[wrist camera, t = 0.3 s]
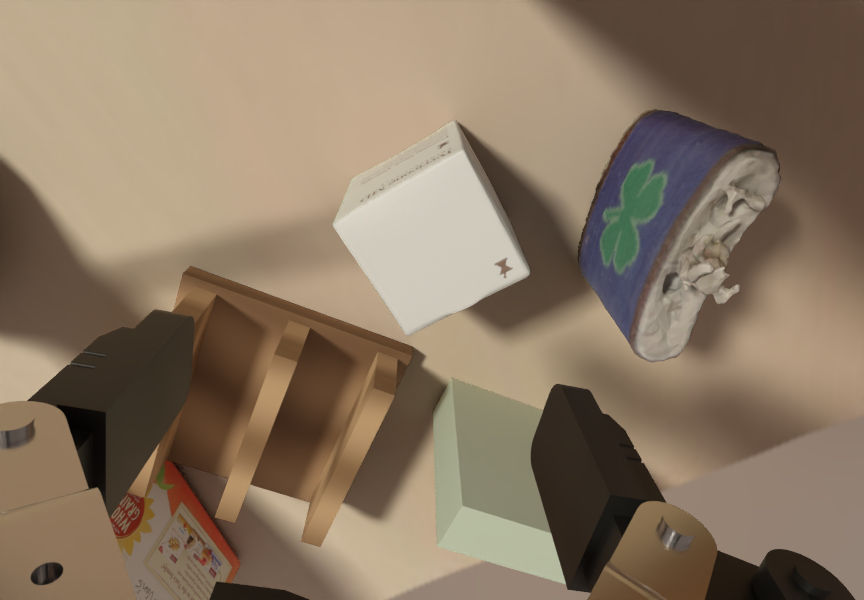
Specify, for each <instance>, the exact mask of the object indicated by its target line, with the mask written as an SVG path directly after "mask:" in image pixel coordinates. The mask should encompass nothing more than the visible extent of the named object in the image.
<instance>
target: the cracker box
mask: <svg viewBox="0 0 864 600" xmlns="http://www.w3.org/2000/svg"><path fill="white" fill-rule="evenodd" d="M110 522H111V525H112V527H113V530H114V533H115V536H116V539H117V542H118V545H119V548H120V551H121V554H122V557H123V560H124V563H125V566H126V569H127V572H128V575H129V577H130V580H131V583H132V586H133V589H134V592H135V595H136V598H137V600H209V599H210V597H211V594H212V591H213V589H214V586H215V583H216V581H217V582H225V583H232V581H233V579H234V577H235V575H236V573H237V571H238V569H239V567H240V561H239V560H238V558H237V557H236V555H235V554H234V553H233V551H232V550H231V548H230V547H229V545H228V544H227V542H226V541H225V539H224V538H223V536H222V535H221V533H220V532H219V530H218V529H217V527H216V526H215V524H214V523H213V521H212V520H211V518H210V517H209V515H208V514H207V513H206V511H205V509H204V508H203V506H202V505H201V503H200V502H199V500H198V499H197V497H196V496H195V495H194V493H193V491H192V490H191V489H190V487H189V486H188V484H187V483H186V481H185V480H184V478H183V476H182V475H181V474H180V472H179V471H178V469H177V468H176V466H175V465H174V463H173V462H171V461H168V460H166V461H165V463H164V465H163V466H162V468H161V470H160V471H159V473H158V475H157V477H156V478H155V480H154V482H153V483H152V485H151V487H150V489H149V490H148V492H147V494H146V495H145V497H144V498H143V497H139V496H136V495H132V494H129V493H126V495H125V496H124V498H123V499H122V501H121V502H120V504H119V505H118V507H117V508H116V510H115V511H114V513H113V514H112V516H111V517H110Z"/></svg>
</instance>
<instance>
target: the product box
mask: <svg viewBox="0 0 864 600" xmlns="http://www.w3.org/2000/svg"><path fill="white" fill-rule="evenodd" d="M333 227H334V229H335V230H336V231H337V233H338V234H339V236H340V237H341V239H342V240H343V242H344V243H345V245H346V246H347V248H348V249H349V251H350V252H351V254H352V255H353V257H354V258H355V260H356V261H357V263H358V264H359V266H360V267H361V268H362V270H363V271H364V273H365V274H366V276H367V277H368V279H369V280H370V282H371V283H372V285H373V286H374V288H375V289H376V291H377V292H378V294H379V295H380V297H381V298H382V300H383V301H384V303H385V304H386V306H387V307H388V309H389V310H390V312H391V313H392V315H393V316H394V318H395V319H396V321H397V322H398V324H399V325H400V327H401V328H402V330H403V332H404V333H405V335H407V336H409V335H412V334H413V333H415V332H417V331H419V330H421V329H423V328H425V327H427V326H429V325H431V324H433V323H435V322H437V321H439V320H441V319H443V318H445V317H447V316H449V315H451V314H453V313H456V312H459V311H462V310H464V309H466V308H469V307H470V306H472V305H474V304H475V303H477V302H478V301H480V300H482V299H484V298H486V297H488V296H490V295H492V294H494V293H496V292H498V291H500V290H502V289H504V288H506V287H508V286H510V285H512V284H514V283H516V282H518V281H520V280H523V279H525V278H526V277H528V276H529V275H530V269H529V266H528V263H527V261H526V259H525V256H524V254H523V252H522V250H521V247H520V245H519V243H518V240H517V238H516V235H515V233H514V230H513V228H512V225H511V223H510V221H509V218H508V216H507V215H506V213H505V211H504V209H503V207H502V205H501V203H500V201H499V199H498V197H497V195H496V193H495V191H494V189H493V187H492V185H491V183H490V181H489V179H488V177H487V175H486V173H485V171H484V169H483V168H482V166H481V164H480V162H479V160H478V159H477V157H476V155H475V153H474V151H473V150H472V148H471V146H470V144H469V142H468V141H467V139H466V137H465V135H464V133H463V131H462V130H461V128H460V126H459V124H458V122H457V121H455V120H454V121H451V122H449V123H448V124H446V125H444V126H443V127H442V128H440V129H439V130H437V131H435V132H434V133H433V134H431V135H429V136H428V137H426V138H424V139H423V140H421V141H419V142H418V143H416V144H414V145H412V146H411V147H409V148H407V149H405V150H404V151H402V152H400V153H398V154H396V155H395V156H393V157H391V158H389V159H387V160H385V161H384V162H382V163H380V164H378V165H376V166H374V167H372V168H370V169H368V170H366V171H364V172H362V173H360V174H358V175H356V176H355V177H353V178H352V180H351V182H350V185H349V187H348V190H347V192H346V194H345V197H344V199H343V202H342V204H341V206H340V209H339V211H338V213H337V215H336V218H335V220H334V222H333Z"/></svg>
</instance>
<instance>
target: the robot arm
mask: <svg viewBox="0 0 864 600" xmlns="http://www.w3.org/2000/svg"><path fill="white" fill-rule="evenodd" d="M194 330H195V322H194V318H193V317H192V316H189V315H183V314H178V313H173V312H167V311H162V310H153V311H152V312H151V313H150V314H149V315H148V316H147V317H146V318H145V319H144V320H143V321H142V322H141V323H140V324H139V325H138V326H137V327H136V328H135V329H130V328H124V327H122V328H120V329H117V330H115V331H112V332H110V333H107V334H105V335H103V336H100V337H98V338H97V339H96V340H95V341H94V342H93V343H92V344H91V345H89V346H88V347H87V348H86V349H85V350H84V352H83V354H82V353H80V354H79V355H78V356H77V357H76V358H75V359H74V360H73V361H71V364H70V365H67V366H66V367H65V368H64V369H62V370H61V371H60V372H59V373H58V374H57V375H56V376H55V377H53V378H52V379H51V380H50V381H49V382H48V383H47V384H46V385H44V386H43V387H42V388H41V389H40V390H39V391H38V392H37V393H35V394H34V395H33V396H32V397H31V398H30V399H29V400H28V401H16V402H8V403H2V404H0V600H137V598H136V595H135V592H134V589H133V586H132V583H131V580H130V577H129V575H128V572H127V569H126V566H125V563H124V560H123V557H122V554H121V551H120V548H119V545H118V542H117V539H116V536H115V533H114V530H113V527H112V525H111V522H110V517H111V516H112V514H113V513H114V511H115V510H116V508H117V507H118V505H119V504H120V502H121V501H122V499H123V498H124V496H125V495H126V493H127V492H128V490H129V488H130V487H131V485H132V484H133V482H134V481H135V479H136V478H137V476H138V475H139V473H140V472H141V470H142V469H143V467H144V466H145V464H146V463H147V461H148V460H149V458H150V457H151V455H152V453H153V452H154V450H155V449H156V447H157V446H158V444H159V443H160V441H161V440H162V438H163V437H164V435H165V434H166V432H167V431H168V429H169V428H170V426H171V425H172V423H173V421H174V420H175V418H176V417H177V415H178V414H179V412H180V411H181V409H182V408H183V406H184V404H185V401H186V399H187V396H188V393H189V389H190V384H191V374H192V360H193V345H194ZM641 460H642V459H641V458H640V456H639V454H638V452H637V451H636V450H635V449H634V445H633V444H632V442H631V440H630V438H629V437H628V435H627V433H626V431H625V430H624V429H623V428H622V427H621V426H620V425H619V424H618V423H617V422H615V421H614V420H613V419H612V418H611V417H610V416H609V415H607V414H602V412H601V410H600V408H599V406H598V404H597V402H596V401H595V399H594V397H593V395H592V393H591V392H590V391H589V390H588V389H583V388H577V387H572V386H566V385H561V384H556V385H554V386H553V388H552V389H551V391H550V394H549V396H548V399H547V402H546V405H545V407H544V410H543V413H542V416H541V418H540V421H539V424H538V427H537V429H536V432H535V435H534V438H533V441H532V446H531V466H532V470H533V473H534V477H535V480H536V484H537V487H538V490H539V494H540V497H541V501H542V504H543V507H544V511H545V514H546V518H547V521H548V524H549V528H550V531H551V535H552V538H553V541H554V545H555V548H556V552H557V555H558V558H559V562H560V565H561V569H562V572H563V575H564V579H565V582H566V586H567V589H568V590H576V591H582V592H589V593H591V594H590V596H589V597H588V599H587V600H855V599H854V597H853V596H852V595H851V593H850V592H849V591H848V590H847V588H846V587H845V586H844V585H843V584H842V583H841V582H840V581H839V580H838V579H837V578H836V577H835V576H834V575H833V574H832V573H830V572H829V571H828V570H826V569H825V568H824V567H822V566H821V565H819V564H818V563H816V562H815V561H813V560H811V559H809V558H807V557H805V556H803V555H801V554H798V553H795V552H792V551H789V550H783V549H775V550H771V551H770V552H768V553H767V555H766V556H765V558H764V560H763V561H762V563H761V565H760V566H759V567H758V566H756V565H753V564H750V563H748V562H746V561H743V560H740V559H738V558H735V557H733V556H730V555H728V554H725V553H722V552H720V551H718V550H717V545H716V543H715V540H714V538H713V537H712V535H711V533H710V532H709V531H708V530H707V528H705V527H704V525H703V524H702V523H701V522H699V521H698V520H697V519H696V518H695V517H693V516H692V515H690V514H689V513H687V512H685V511H684V510H682V509H680V508H678V507H676V506H674V505H671V504H668V503H666V501H665V499H664V498H663V496H662V494H661V492H660V491H659V489H658V487H657V485H656V484H655V482H654V480H653V478H652V477H651V475H650V473H649V471H648V470H647V468H646V466H645V465H644V463H641ZM209 600H309V599H306V598H304V597H301V596H299V595H296V594H293V593H291V592H288V591H286V590H279V589H271V588H264V587H256V586H248V585H240V584H233V583H225V582H217V581H216V583H215V586H214V589H213V591H212V594H211V597H210V599H209Z"/></svg>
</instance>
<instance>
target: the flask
mask: <svg viewBox="0 0 864 600" xmlns="http://www.w3.org/2000/svg"><path fill="white" fill-rule="evenodd" d="M610 157H611V159H610V160H609V162H608V163H607V164H606V166H605V169H604V171H603V172H602V177H601V179H600V182H599V183H598V185H597V187H596V193H595V197H594V199H593V202H591V203H592V204H591V207H590V211H589V213H588V217H587V218H586V224H585V226H584V229H583V232H582V235H581V239H580V242H579V246H578V247H579V249H578V257H577V258H578V264H579V268H580V271H581V273H582V275H583V277H584V278H585V279H586V280H587V281H588V283H589V284H590V286H591V287H592V288H593V289H594V291H595V292H596V294H597V295H598V297H599V298H600V300H601V302H602V303H603V305H604V307H605V309H606V310H607V311H608V312H609V314H610V315H611V317H612V318H613V320H614V321H615V323H616V324H617V326H618V327H619V329H620V330H621V332H622V333H623V334H624V336H625V337H626V339H627V341H628V342H629V344H630V346H631V348H632V349H633V351H634V353H635V354H636V355H638V356H639V357H640V358H642V359H645V360H647V361H649V362H656V361H665V360H667V359H670V358H675V357H677V356H678V355H679V354H680V353H681V352H682V351H683V349H684V348H685V346H686V344H687V343H688V341H689V339H690V336H691V333H692V329H693V327H694V325H695V323H696V320H697V316H698V312H699V311H700V309H701V306H702V304H703V302H704V300H705V299H706V297H707V295H709V294H713V295H714V298H715V301H716V303H718V304H722V303H726V302H727V300H728V299H729V298H730V297H731V296H732V295H734V294H736V293H738V292H739V290H740V285H739V284H736V285H734V286H733V287H732V288H730V289H728V288H725V287H724V285H723V281H724V280H726V279H727V278H728V277H729V275H730V274H727V273H725V271H726V267H727V264H728V260H727V258H728V257H729V254H730V253H731V251H732V250H733V248H734V246H735V245H736V244H737V243H738V242H739V240H740V237H741V236H742V234H743V233H744V232H745V230H746V229H747V228H748V226H749V225H751V224H752V223H753V222H754V221H755V220H756V217H757V216H758V215H759V214H760V213H762V212H763V211H764V210H765V209H766V208H767V207H768V206H769V204H770V202H771V201H772V198H773V196H774V195H775V193H776V191H777V190H778V188H779V184H780V180H781V177H780V175H779V171H780V164H779V161H778V158H777V153H776V151H775V150H774V149H771V148H767V147H766V146H764V145H763V144H762V143H760V142H759V141H753V140H750V139H747V138H744V137H742V136H740V135H738V134H734V133H730V132H728V131H726V130H721V129H716V128H714V127H711V126H709V125H706V124H704V123H701V122H698V121H695V120H692V119H690V118H689V117H686V116H682V115H679V114H678V113H675V112H670V111H662V110H656V109H655V110H649V111H645V112H644V113H643V114H641V115H640V116H638V117H637V118H636V119H635V120H634V122H633V124H632V125H631V126H630V127H629V128H628V129H627V130H626V132H625V133H624V134H623V137H622V138H621V140H620V142H619V144H618V145H617V147H616V149H615V150H614V152H613V153H612V155H611V156H610Z"/></svg>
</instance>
